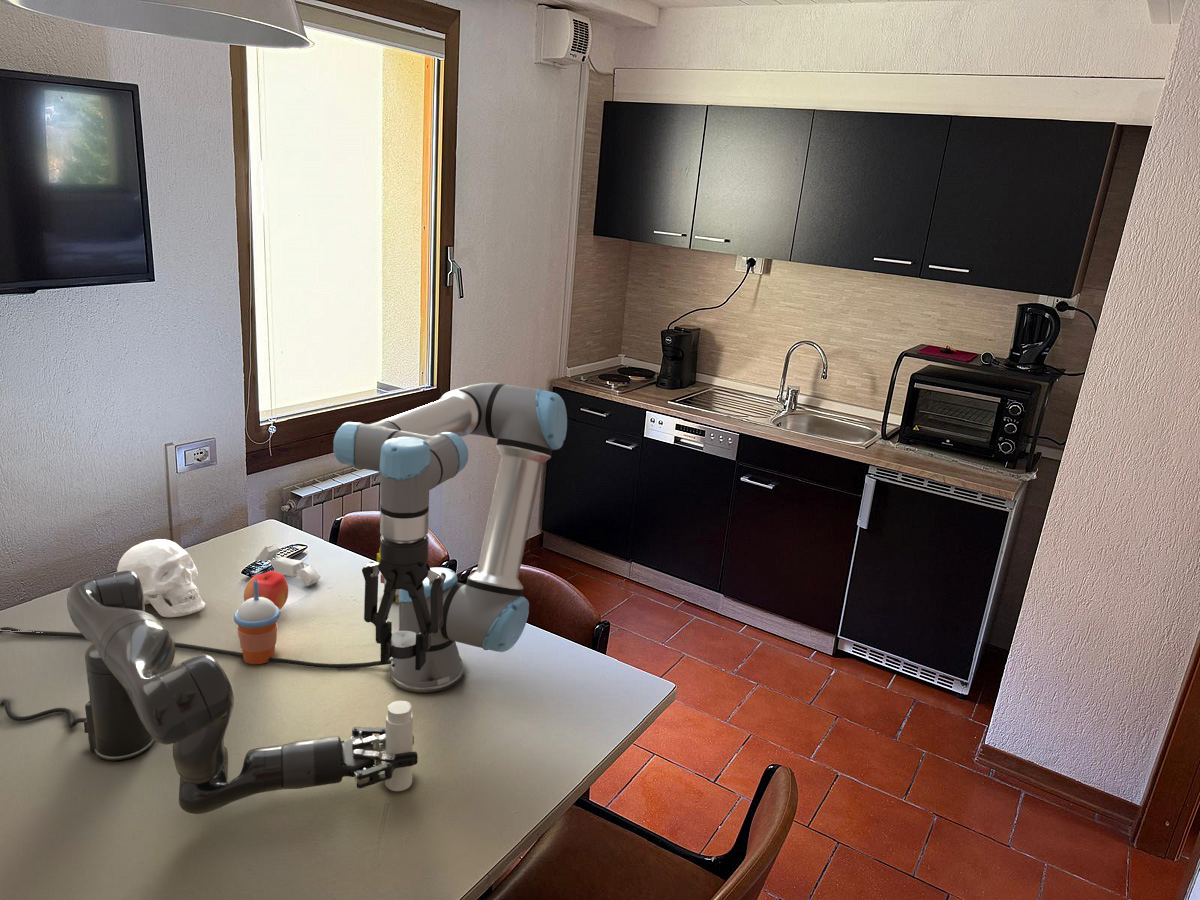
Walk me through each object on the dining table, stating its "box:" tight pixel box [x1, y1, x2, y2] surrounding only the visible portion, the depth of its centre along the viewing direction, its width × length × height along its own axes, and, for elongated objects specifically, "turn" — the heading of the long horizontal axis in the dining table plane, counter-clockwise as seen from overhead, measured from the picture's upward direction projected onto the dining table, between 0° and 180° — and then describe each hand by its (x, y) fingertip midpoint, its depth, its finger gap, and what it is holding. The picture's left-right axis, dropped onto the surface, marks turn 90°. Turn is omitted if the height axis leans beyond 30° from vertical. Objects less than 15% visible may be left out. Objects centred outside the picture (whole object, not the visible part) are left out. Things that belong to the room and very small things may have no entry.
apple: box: [243, 570, 289, 611], centre depth 199 cm, size 10×10×10 cm
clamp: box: [254, 544, 322, 587], centre depth 219 cm, size 20×4×7 cm, turn 62°
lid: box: [386, 630, 416, 659], centre depth 142 cm, size 6×6×2 cm
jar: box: [385, 700, 414, 792], centre depth 147 cm, size 4×4×15 cm
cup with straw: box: [233, 580, 281, 665], centre depth 181 cm, size 9×9×18 cm
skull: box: [116, 538, 206, 618], centre depth 199 cm, size 13×22×16 cm, turn 73°
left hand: (414, 748), depth 148 cm, fingers closed on jar, 4 cm apart
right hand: (403, 662), depth 143 cm, fingers closed on lid, 5 cm apart
